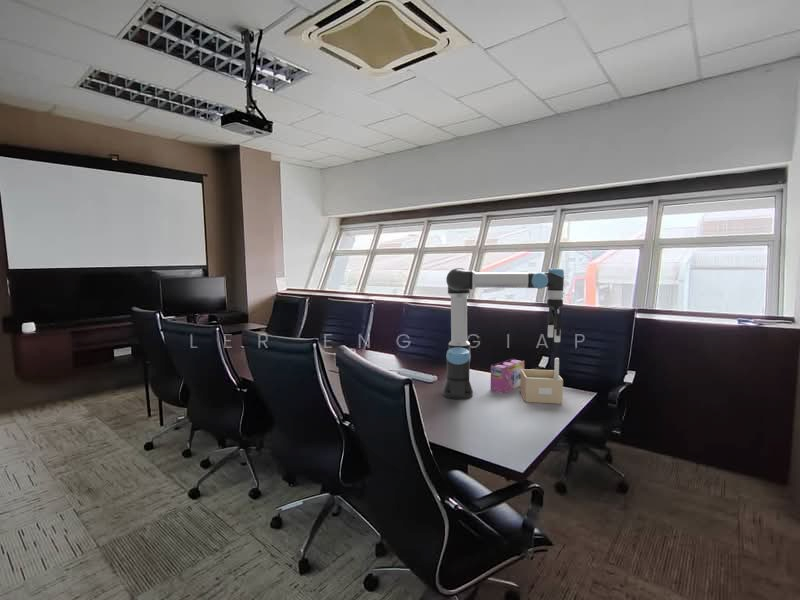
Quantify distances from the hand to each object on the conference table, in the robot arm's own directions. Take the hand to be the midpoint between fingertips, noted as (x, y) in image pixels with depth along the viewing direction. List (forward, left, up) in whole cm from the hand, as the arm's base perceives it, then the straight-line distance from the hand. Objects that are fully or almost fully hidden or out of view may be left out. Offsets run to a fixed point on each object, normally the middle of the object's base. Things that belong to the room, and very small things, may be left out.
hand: (553, 339), depth 204 cm
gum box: (-22, +6, -28) cm, 36 cm away
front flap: (-8, -18, -28) cm, 34 cm away
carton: (-8, -9, -28) cm, 30 cm away
